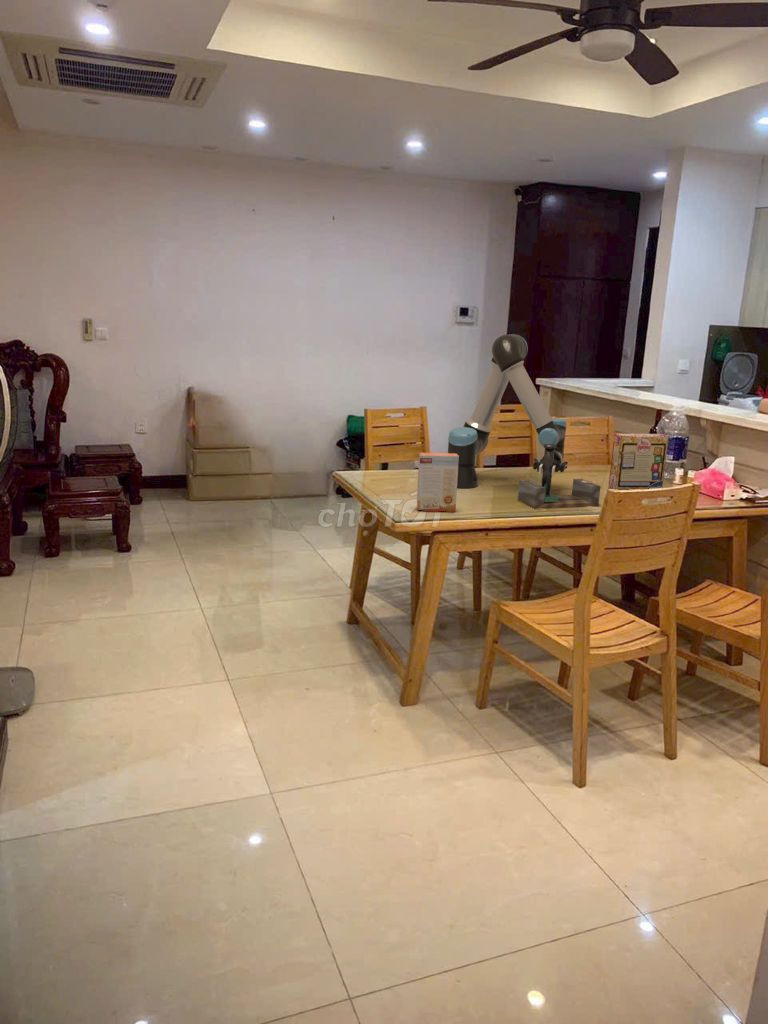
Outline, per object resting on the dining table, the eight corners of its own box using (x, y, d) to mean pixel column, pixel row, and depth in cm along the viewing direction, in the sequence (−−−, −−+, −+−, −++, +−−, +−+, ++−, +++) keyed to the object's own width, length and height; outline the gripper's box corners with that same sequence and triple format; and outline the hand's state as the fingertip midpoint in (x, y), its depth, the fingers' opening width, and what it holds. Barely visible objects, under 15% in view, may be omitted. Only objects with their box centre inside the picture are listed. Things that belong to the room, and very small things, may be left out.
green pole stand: (544, 502, 287) (549, 447, 282) (531, 495, 297) (536, 442, 291) (558, 501, 289) (563, 447, 284) (545, 495, 298) (550, 442, 293)
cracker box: (453, 508, 281) (457, 452, 275) (455, 512, 275) (459, 456, 269) (415, 507, 280) (419, 451, 275) (417, 511, 274) (420, 454, 269)
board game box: (653, 499, 309) (662, 433, 302) (661, 503, 303) (670, 436, 296) (606, 498, 306) (614, 432, 299) (612, 502, 300) (621, 435, 293)
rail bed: (534, 509, 285) (536, 487, 283) (517, 500, 297) (519, 479, 295) (598, 506, 294) (600, 485, 291) (580, 498, 306) (582, 477, 303)
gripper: (572, 471, 305) (568, 483, 283) (529, 467, 310) (522, 478, 288) (574, 453, 303) (570, 463, 282) (531, 449, 308) (524, 459, 286)
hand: (546, 471), depth 285 cm, fingers open, 4 cm apart
